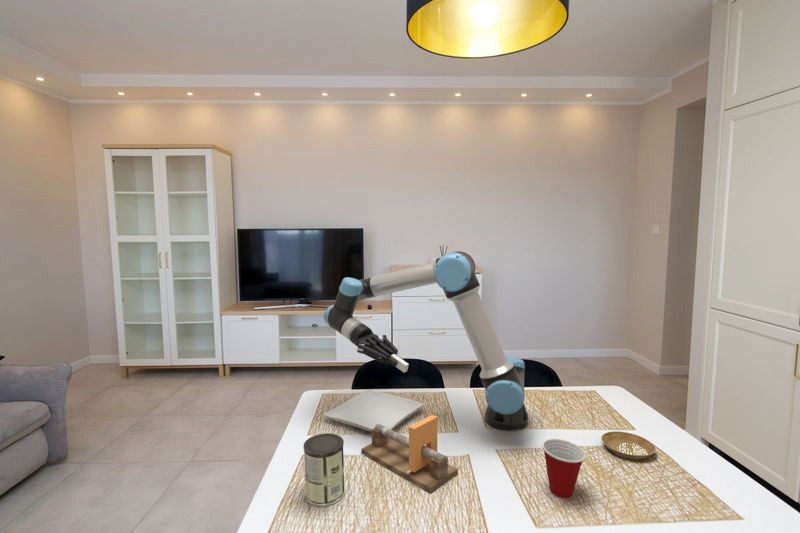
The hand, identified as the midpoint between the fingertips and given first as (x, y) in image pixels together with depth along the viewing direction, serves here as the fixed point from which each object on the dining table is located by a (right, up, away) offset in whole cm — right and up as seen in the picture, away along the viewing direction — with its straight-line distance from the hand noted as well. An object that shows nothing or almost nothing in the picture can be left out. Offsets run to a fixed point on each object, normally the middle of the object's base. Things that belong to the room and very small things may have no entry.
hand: (406, 368), depth 130 cm
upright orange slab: (+5, -24, -12) cm, 27 cm away
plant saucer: (+69, -26, -1) cm, 74 cm away
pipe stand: (0, -26, -7) cm, 27 cm away
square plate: (-11, -24, +23) cm, 35 cm away
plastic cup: (+41, -28, -21) cm, 54 cm away
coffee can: (-22, -28, -21) cm, 41 cm away
